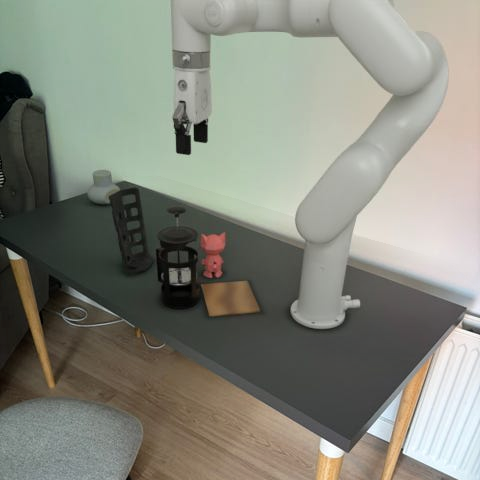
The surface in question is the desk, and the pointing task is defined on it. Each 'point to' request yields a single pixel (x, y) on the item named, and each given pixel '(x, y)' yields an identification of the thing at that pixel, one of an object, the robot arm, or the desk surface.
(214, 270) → the cat figurine
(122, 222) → the holder
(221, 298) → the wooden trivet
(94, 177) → the air freshener
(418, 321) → the desk surface
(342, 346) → the desk surface
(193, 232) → the french press
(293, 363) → the desk surface
